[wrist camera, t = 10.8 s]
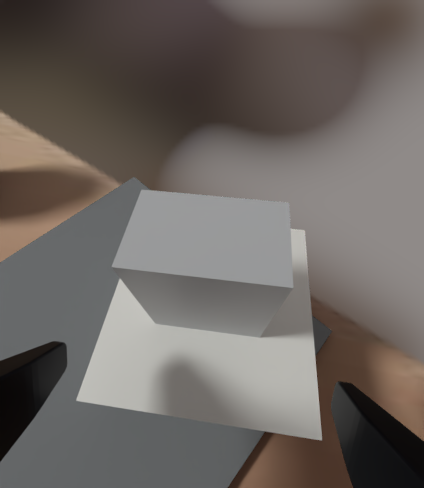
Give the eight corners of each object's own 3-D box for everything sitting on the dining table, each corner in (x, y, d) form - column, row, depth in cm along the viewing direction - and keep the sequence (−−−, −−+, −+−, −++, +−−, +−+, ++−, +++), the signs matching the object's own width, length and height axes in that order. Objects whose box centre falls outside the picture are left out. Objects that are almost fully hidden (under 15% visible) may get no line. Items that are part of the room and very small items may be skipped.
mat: (328, 333, 17) (332, 331, 16) (-44, 886, 8) (-62, 920, 7) (135, 181, 24) (134, 177, 24) (-158, 372, 16) (-171, 371, 15)
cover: (292, 429, 13) (442, 484, 5) (113, 400, 14) (-58, 400, 5) (286, 265, 19) (350, 141, 10) (156, 251, 19) (107, 125, 11)
